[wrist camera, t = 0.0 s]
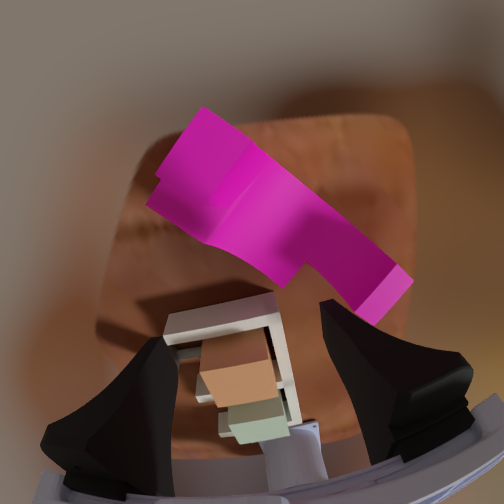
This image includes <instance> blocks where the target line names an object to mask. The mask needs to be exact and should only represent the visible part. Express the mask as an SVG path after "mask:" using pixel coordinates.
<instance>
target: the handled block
mask: <svg viewBox="0 0 504 504" xmlns="http://www.w3.org/2000/svg"><path fill="white" fill-rule="evenodd" d="M166 345H167V344H166ZM167 347H168V349H169V351H170V353H171V355H172V357H173V358H174V360H175V362H176V364H177V366H178V370H179V364H180V359H187V358H193V357H199V356H201V360H200V370H199V372H200V374H201V376H202V378H203V380H204V382H205V384H206V386H207V388H208V390H209V392H210V394H211V396H212V398H213V399H214V401H215V403H216V405H217V407H218V408H219V407H226V406H233V405H239V404H245V403H250V402H256V401H261V400H266V399H271V398H276V397H279V394H278V389H277V384H276V379H275V373H274V368H273V363H272V358H271V353H270V349H269V345H268V341H267V337H266V333H265V330H264V327H261V328H256V329H252V330H247V331H242V332H238V333H233V334H228V335H223V336H218V337H213V338H207V339H203V340H202V346H199V347H193V348H188V349H182V350H179V349H178V348H177V347H175V346H174V345H167Z"/></svg>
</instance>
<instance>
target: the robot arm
mask: <svg viewBox="0 0 504 504" xmlns="http://www.w3.org/2000/svg"><path fill="white" fill-rule="evenodd" d="M319 304H320V312H321V321H322V331H323V338H324V341H325V344H326V347H327V350H328V352H329V355H330V357H331V359H332V361H333V363H334V365H335V367H336V369H337V371H338V373H339V375H340V377H341V379H342V381H343V383H344V385H345V387H346V389H347V391H348V394H349V396H350V398H351V401H352V404H353V407H354V409H355V412H356V415H357V418H358V421H359V424H360V428H361V431H362V434H363V437H364V440H365V444H366V448H367V451H368V455H369V459H370V463H371V466H370V467H367V468H365V469H361V470H358V471H355V472H352V473H349V474H346V475H343V476H339V477H336V478H332V479H328V477H327V473H326V469H325V465H324V462H323V458H322V454H321V445H320V436H319V426H318V421H316V420H314V421H310V422H306V423H302V424H298V425H293V426H289V427H288V428H289V433H290V436H286V437H281V438H276V439H271V440H265V441H259V442H258V443H259V445H260V447H261V449H262V451H263V453H264V455H265V460H266V468H267V476H268V484H269V492H265V493H257V494H248V495H235V496H221V497H175V494H174V487H173V478H172V467H171V427H172V419H173V413H174V407H175V401H176V394H177V388H178V366H177V364H176V362H175V360H174V358H173V357H172V355H171V353H170V351H169V349H168V347H167V345H166V343H165V341H164V339H163V337H162V336H160V337H154V338H150V339H149V340H148V341H147V342H146V344H145V345H144V346H143V347H142V348H141V349H140V351H139V352H138V353H137V354H136V355H135V357H134V358H133V359H132V360H131V361H130V363H129V364H128V365H127V366H126V367H125V368H124V369H123V371H122V372H121V373H120V374H119V375H118V376H117V377H116V378H115V379H114V380H113V381H112V382H111V383H110V384H109V385H108V386H107V387H106V388H105V389H104V390H103V391H102V392H101V393H100V394H98V395H97V396H96V397H94V398H93V399H92V400H90V401H89V402H88V403H86V404H85V405H84V406H82V407H81V408H79V409H78V410H76V411H75V412H73V413H71V414H70V415H68V416H66V417H64V418H62V419H60V420H58V421H56V422H54V423H51V424H49V425H48V426H47V429H46V431H45V433H44V436H43V438H42V441H41V444H40V447H41V449H42V451H43V452H44V453H45V454H46V455H47V456H48V457H49V458H50V459H51V460H53V461H54V462H55V463H56V464H57V465H59V466H60V467H61V468H63V469H64V470H65V471H66V475H65V476H63V475H61V474H59V473H55V472H52V471H49V470H46V469H43V470H42V473H41V476H40V479H39V482H38V485H37V489H36V492H35V495H34V498H33V502H32V504H437V503H439V502H441V501H443V500H444V499H446V498H448V497H449V496H451V495H453V494H454V493H456V492H457V491H459V490H460V489H462V488H463V487H465V486H467V485H468V484H469V483H471V482H472V481H474V480H475V479H477V478H478V477H479V476H481V475H482V474H484V473H485V472H486V471H488V470H489V469H490V468H492V467H493V466H494V465H496V464H497V463H498V462H499V461H500V460H501V459H502V458H503V457H504V402H503V401H502V400H501V398H500V397H499V396H498V395H497V393H494V394H492V395H491V396H490V397H488V398H487V399H485V400H484V401H482V402H481V403H480V404H478V405H477V406H475V407H474V408H473V409H472V410H471V412H470V411H469V410H468V408H467V407H466V406H468V401H467V399H466V398H465V394H466V392H467V390H468V388H469V385H470V383H471V381H472V378H473V369H472V367H471V366H470V364H469V363H468V362H467V361H466V360H465V358H464V357H463V356H462V355H461V354H460V353H459V352H452V351H444V350H437V349H432V348H427V347H423V346H419V345H416V344H413V343H409V342H407V341H404V340H401V339H398V338H396V337H393V336H391V335H389V334H387V333H384V332H382V331H380V330H379V329H377V328H375V327H373V326H371V325H370V324H368V323H366V322H365V321H363V320H362V319H360V318H359V317H357V316H356V315H354V314H353V313H351V312H350V311H349V310H347V309H346V308H344V307H343V306H342V305H340V304H339V303H338V302H336V301H335V300H334V299H330V300H326V301H323V302H319Z"/></svg>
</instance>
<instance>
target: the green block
mask: <svg viewBox="0 0 504 504" xmlns="http://www.w3.org/2000/svg"><path fill="white" fill-rule="evenodd" d="M278 394H279V397H276V398H271V399H266V400H261V401H256V402H250V403H245V404H239V405H233V406H228V426H229V427H230V429H231V431H232V433H233V434H234V436H235V438H236V439H237V441H238V443H239V444H247V443H253V442H259V441H265V440H271V439H276V438H281V437H286V436H290V433H289V428H288V423H287V418H286V413H285V408H284V403H283V399H282V394H281V390H280V389H278Z"/></svg>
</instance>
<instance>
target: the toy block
mask: <svg viewBox="0 0 504 504" xmlns="http://www.w3.org/2000/svg"><path fill="white" fill-rule="evenodd" d="M155 175H156V176H157V177H158V178H160V179H161V180H160V182H159V183H158V185H157V187H156V188H155V190H154V191H153V193H152V195H151V196H150V198H149V199H148V201H147V203H146V204H145V205H147V206H148V207H149V208H151V209H152V210H154V211H155V212H157V213H158V214H160V215H161V216H163V217H164V218H166V219H167V220H169V221H170V222H172V223H173V224H175V225H176V226H178V227H179V228H181V229H182V230H184V231H185V232H187V233H188V234H190V235H191V236H193V237H194V238H196V239H197V240H199V241H200V242H202V243H204V244H209V245H212V246H215V247H218V248H220V249H223V250H225V251H227V252H229V253H231V254H233V255H235V256H237V257H239V258H241V259H243V260H244V261H246V262H247V263H249V264H251V265H252V266H254V267H255V268H257V269H258V270H259V271H261V272H262V273H264V274H265V275H266V276H268V277H269V278H270V279H271V280H273V281H274V282H275V283H276V284H277V285H279V286H280V287H281V288H282V289H283V288H284V287H285V285H286V284H287V283H288V282H289V281H290V280H291V279H292V277H293V276H294V275H295V274H296V273H297V272H298V270H299V269H300V268H301V267H302V266H303V265H304V263H305V262H306V261H307V262H308V263H309V264H310V265H311V266H312V267H313V268H315V269H316V270H317V271H318V272H319V273H320V274H321V275H322V276H323V277H324V278H325V279H326V280H327V281H328V282H329V283H330V284H331V285H332V286H333V287H334V288H335V289H336V291H337V292H338V293H339V294H340V295H341V296H342V297H343V299H344V300H345V301H346V302H347V303H348V305H349V306H350V307H351V309H352V310H353V311H354V312H355V313H356V314H357V315H359V316H360V317H362V318H363V319H364V320H366V321H367V322H369V323H370V324H372V325H373V326H374V325H375V324H376V323H377V322H378V321H379V320H380V319H381V318H382V317H383V316H384V315H385V313H386V312H387V311H388V310H389V309H390V308H391V307H392V306H393V305H394V304H395V303H396V301H397V300H398V299H399V298H400V297H401V296H402V295H403V293H404V292H405V291H406V290H407V289H408V288H409V286H410V285H411V284H412V283H413V282H414V281H413V279H412V278H411V277H410V276H409V275H408V274H407V273H406V272H405V271H404V270H403V269H402V268H401V267H400V266H399V265H398V264H397V263H396V262H394V261H393V260H392V259H391V258H390V257H389V256H388V255H386V254H385V253H384V252H383V251H382V250H381V249H380V248H378V247H377V246H376V245H375V244H374V243H373V242H372V241H370V240H369V239H368V238H367V237H366V236H365V235H363V234H362V233H361V232H360V231H359V230H358V229H357V228H355V227H354V226H353V225H352V224H351V223H350V222H348V221H347V220H346V219H345V218H344V217H342V216H341V215H340V214H339V213H338V212H337V211H335V210H334V209H333V208H332V207H331V206H329V205H328V204H327V203H326V202H325V201H323V200H322V199H321V198H320V197H319V196H317V195H316V194H315V193H314V192H313V191H311V190H310V189H309V188H308V187H306V186H305V185H304V184H303V183H302V182H300V181H299V180H298V179H297V178H295V177H294V176H293V175H292V174H291V173H289V172H288V171H287V170H286V169H284V168H283V167H282V166H281V165H279V164H278V163H277V162H276V161H275V160H273V159H272V158H271V157H270V156H268V155H267V154H266V153H265V152H264V151H263V150H261V149H260V148H259V147H258V146H257V145H256V144H255V143H254V142H253V141H252V140H251V139H250V138H248V137H247V136H246V135H244V134H243V133H241V132H240V131H239V130H237V129H236V128H234V127H233V126H232V125H230V124H229V123H227V122H226V121H224V120H222V119H221V118H220V117H218V116H217V115H215V114H214V113H213V112H211V111H210V110H208V109H207V108H205V107H203V106H202V108H201V109H200V110H199V112H198V113H197V114H196V116H195V117H194V118H193V120H192V121H191V122H190V124H189V125H188V126H187V128H186V129H185V131H184V132H183V133H182V135H181V136H180V138H179V139H178V140H177V142H176V143H175V145H174V146H173V148H172V149H171V151H170V152H169V154H168V155H167V157H166V158H165V160H164V161H163V163H162V164H161V166H160V167H159V169H158V170H157V172H156V173H155Z"/></svg>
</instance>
